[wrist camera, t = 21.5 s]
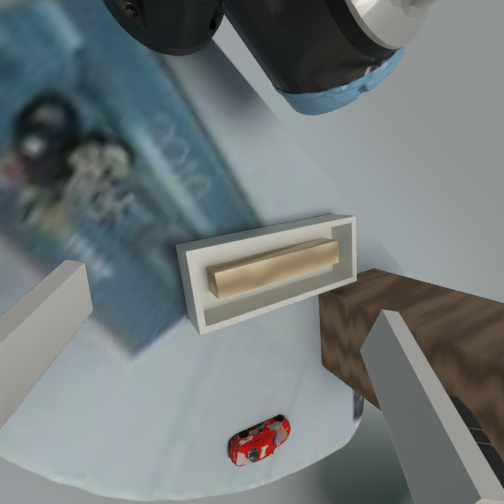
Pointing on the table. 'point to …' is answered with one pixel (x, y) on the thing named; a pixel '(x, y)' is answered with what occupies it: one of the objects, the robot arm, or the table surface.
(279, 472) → the table surface
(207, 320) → the tray
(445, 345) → the wooden block
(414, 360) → the robot arm
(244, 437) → the race car
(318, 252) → the wooden board
